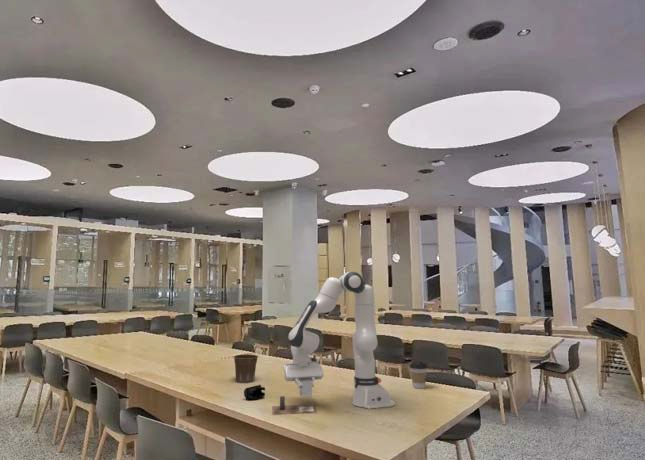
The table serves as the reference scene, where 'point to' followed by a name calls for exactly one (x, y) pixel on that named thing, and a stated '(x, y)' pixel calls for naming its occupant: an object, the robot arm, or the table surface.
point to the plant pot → (245, 367)
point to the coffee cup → (418, 374)
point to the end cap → (254, 393)
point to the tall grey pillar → (306, 388)
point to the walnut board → (292, 408)
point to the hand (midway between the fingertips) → (306, 386)
